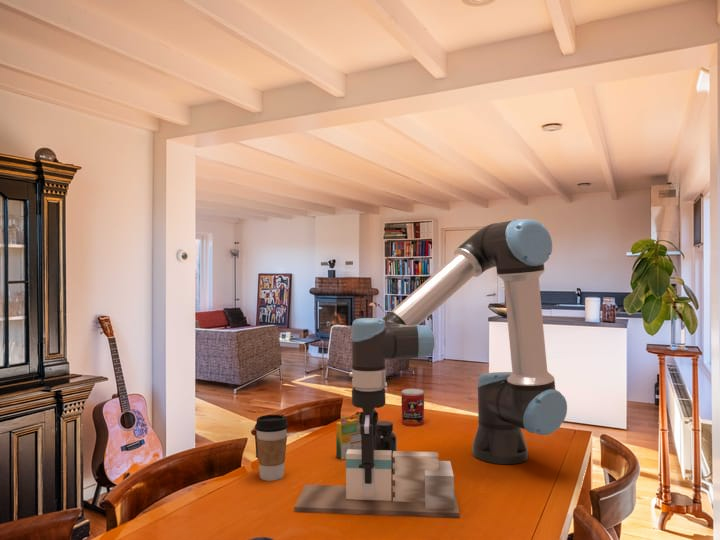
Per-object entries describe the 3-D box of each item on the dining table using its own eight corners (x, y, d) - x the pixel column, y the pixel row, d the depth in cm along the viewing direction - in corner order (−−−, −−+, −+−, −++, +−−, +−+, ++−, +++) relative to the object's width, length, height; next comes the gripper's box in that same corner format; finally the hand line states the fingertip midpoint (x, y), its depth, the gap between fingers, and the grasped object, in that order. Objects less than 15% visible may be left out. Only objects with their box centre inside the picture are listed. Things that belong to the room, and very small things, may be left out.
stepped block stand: (454, 493, 119) (453, 445, 119) (459, 517, 107) (459, 464, 107) (305, 488, 122) (305, 442, 123) (294, 511, 111) (293, 460, 111)
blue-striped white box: (392, 494, 116) (391, 450, 116) (391, 500, 113) (391, 455, 113) (347, 493, 117) (347, 449, 117) (345, 499, 114) (345, 453, 114)
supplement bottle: (395, 475, 131) (394, 427, 131) (368, 473, 132) (368, 426, 132) (398, 465, 137) (398, 420, 138) (373, 463, 139) (372, 418, 139)
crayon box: (357, 452, 148) (357, 411, 148) (363, 455, 145) (363, 413, 146) (335, 457, 144) (335, 415, 144) (341, 460, 141) (341, 417, 142)
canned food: (400, 426, 174) (400, 393, 174) (402, 419, 181) (402, 388, 182) (423, 427, 172) (423, 394, 172) (424, 420, 180) (424, 388, 180)
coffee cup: (260, 485, 125) (260, 423, 125) (250, 473, 132) (250, 414, 132) (293, 478, 129) (293, 418, 129) (282, 467, 136) (282, 410, 136)
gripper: (355, 380, 124) (356, 478, 123) (347, 395, 108) (348, 508, 107) (386, 380, 123) (387, 479, 123) (383, 396, 107) (384, 509, 107)
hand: (369, 492), depth 115 cm, fingers closed on blue-striped white box, 3 cm apart
